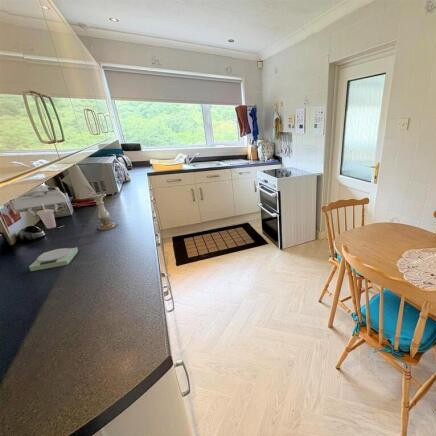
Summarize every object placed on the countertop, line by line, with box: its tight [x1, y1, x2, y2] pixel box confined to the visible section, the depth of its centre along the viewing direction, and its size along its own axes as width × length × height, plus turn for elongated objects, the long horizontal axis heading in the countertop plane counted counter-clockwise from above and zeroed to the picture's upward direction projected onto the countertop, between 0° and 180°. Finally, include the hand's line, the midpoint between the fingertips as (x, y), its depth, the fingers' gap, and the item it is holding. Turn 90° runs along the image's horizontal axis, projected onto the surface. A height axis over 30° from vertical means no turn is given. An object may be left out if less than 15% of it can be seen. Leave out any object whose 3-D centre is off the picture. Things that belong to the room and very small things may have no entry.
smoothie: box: [36, 203, 57, 229], centre depth 124 cm, size 6×6×14 cm
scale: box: [28, 246, 79, 272], centre depth 103 cm, size 12×13×3 cm
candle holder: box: [88, 192, 117, 231], centre depth 134 cm, size 9×9×20 cm
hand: (46, 214), depth 123 cm, fingers closed on smoothie, 6 cm apart
